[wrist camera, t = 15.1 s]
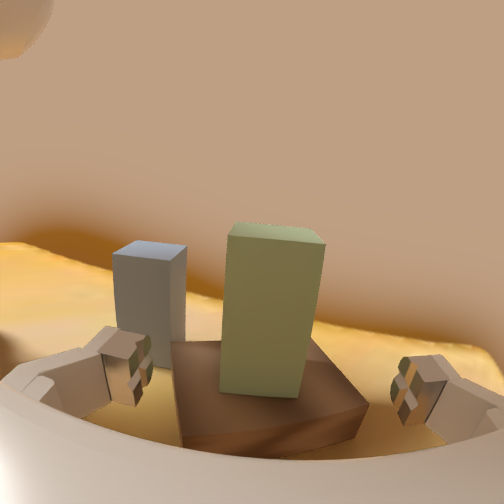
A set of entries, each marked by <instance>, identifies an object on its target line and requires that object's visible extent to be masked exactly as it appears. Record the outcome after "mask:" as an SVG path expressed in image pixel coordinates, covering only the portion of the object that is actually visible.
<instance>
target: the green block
mask: <svg viewBox="0 0 504 504" xmlns="http://www.w3.org/2000/svg"><path fill="white" fill-rule="evenodd" d="M325 246H326V244H325V243H324V242H323V241H322V240H321V239H320V238H319V237H318V236H317V235H316V234H315V233H314V232H313V231H312V230H311V229H307V228H297V227H287V226H277V225H267V224H256V223H245V222H236V223H235V224H234V226H233V227H232V229H231V231H230V232H229V234H228V239H227V254H226V269H225V285H224V302H223V319H222V339H221V360H220V383H219V392H222V393H231V394H241V395H252V396H266V397H284V398H298V395H299V390H300V386H301V381H302V377H303V372H304V367H305V362H306V358H307V353H308V348H309V343H310V337H311V332H312V327H313V321H314V315H315V310H316V304H317V298H318V292H319V286H320V280H321V273H322V267H323V260H324V252H325Z"/></svg>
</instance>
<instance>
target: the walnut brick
mask: <svg viewBox="0 0 504 504" xmlns="http://www.w3.org/2000/svg"><path fill="white" fill-rule="evenodd" d="M170 346H171V368H172V382H173V391H174V399H175V407H176V415H177V422H178V429H179V436H180V443H181V448H186V449H191V450H197V451H203V452H209V453H216V454H223V455H231V456H240V457H250V458H263V459H275V458H280V457H284V456H289V455H294V454H298V453H302V452H306V451H310V450H314V449H318V448H322V447H325V446H329V445H332V444H336V443H339V442H342V441H345V440H349V439H352V438H354V437H355V435H356V433H357V431H358V429H359V427H360V425H361V422H362V420H363V418H364V416H365V413H366V411H367V409H368V406H369V403H368V402H367V401H366V399H365V398H364V397H363V396H362V395H361V394H360V393H359V392H358V390H357V389H356V388H355V387H354V386H353V385H352V384H351V383H350V381H349V380H348V379H347V378H346V377H345V376H344V375H343V374H342V372H341V371H340V370H339V369H338V368H337V367H336V366H335V364H334V363H333V362H332V361H331V360H330V359H329V358H328V357H327V355H326V354H325V353H324V352H323V351H322V350H321V349H320V347H319V346H318V345H317V344H316V343H315V342H314V341H313V339H312V338H311V337H310V343H309V348H308V353H307V358H306V362H305V367H304V372H303V377H302V381H301V386H300V390H299V395H298V398H284V397H266V396H252V395H241V394H231V393H222V392H219V383H220V360H221V341H195V342H170Z"/></svg>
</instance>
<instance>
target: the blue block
mask: <svg viewBox="0 0 504 504" xmlns="http://www.w3.org/2000/svg"><path fill="white" fill-rule="evenodd" d="M112 259H113V282H114V297H115V310H116V320H117V328H120V329H124V330H128V331H133V332H137V333H142V334H147V335H149V336H150V338H151V346H152V347H151V349H150V350H149V352H148V353H149V355H150V356H151V357H152V359H153V366H157V367H162V368H167V369H172V368H171V346H170V342H185V308H186V264H187V246H185V245H176V244H167V243H157V242H147V241H138V240H137V241H135V242H133V243H131V244H130V245H128V246H125V247H124V248H122V249H120V250H118V251H116V252H114V253H113V254H112Z"/></svg>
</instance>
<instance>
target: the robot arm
mask: <svg viewBox="0 0 504 504" xmlns="http://www.w3.org/2000/svg"><path fill="white" fill-rule="evenodd" d="M53 4H54V0H0V61H2V60H7V59H13V58H17V57H19V56H20V55H22V54H23V53H24V52H25V51H27V50H28V49H29V48H30V47H31V46H32V45H33V44H34V43H35V41H36V40H37V39H38V38H39V36H40V35H41V34H42V32H43V31H44V29H45V27H46V25H47V23H48V21H49V19H50V16H51V13H52V9H53ZM151 347H152V346H151V338H150V336H149V335H147V334H142V333H137V332H133V331H128V330H124V329H120V328H115V327H110V326H105V327H104V328H103V329H102V330H101V331H100V332H99V333H98V334H97V335H96V336H95V337H94V338H93V339H92V340H91V341H90V342H89V343H88V344H87V345H86V346H85V347H84V348H83V349H82V348H75V349H72V350H68V351H65V352H61V353H58V354H54V355H51V356H47V357H44V358H40V359H36V360H33V361H29V362H25V363H21V364H19V365H17V366H16V367H15V368H14V369H13V370H12V371H11V372H10V373H8V374H7V375H6V376H5V377H4V378H3V379H2V380H1V381H0V504H504V397H503V396H501V395H499V394H497V393H495V392H493V391H490V390H488V389H486V388H484V387H482V386H480V385H478V384H476V383H474V382H472V381H470V380H468V379H462V378H461V377H460V376H459V374H458V373H457V372H456V371H455V369H454V368H453V367H452V366H451V365H450V363H449V362H448V361H447V360H446V359H445V357H444V356H442V355H440V354H438V355H428V356H413V357H403V358H402V360H401V361H400V363H399V366H398V369H399V372H400V373H399V374H398V375H397V376H396V377H395V378H394V379H393V382H392V385H391V392H390V395H391V400H392V402H393V404H394V405H395V406H397V407H398V408H399V410H398V415H399V417H400V419H401V421H402V424H403V426H408V425H418V424H425V425H426V426H427V427H428V428H429V429H430V430H432V431H433V432H434V433H435V434H437V435H438V436H439V437H440V438H441V439H443V440H444V441H445V442H446V443H448V445H444V446H439V447H434V448H430V449H424V450H419V451H413V452H407V453H401V454H394V455H386V456H377V457H367V458H355V459H337V460H280V459H263V458H250V457H240V456H231V455H223V454H216V453H209V452H203V451H197V450H191V449H186V448H181V447H176V446H171V445H166V444H162V443H158V442H154V441H150V440H146V439H142V438H138V437H134V436H131V435H127V434H124V433H121V432H117V431H114V430H111V429H108V428H105V427H102V426H99V425H96V424H93V423H90V422H87V421H85V420H82V418H84V417H86V416H88V415H89V414H91V413H93V412H95V411H97V410H98V409H100V408H102V407H104V406H105V405H107V404H109V403H111V401H113V402H117V403H121V404H125V405H129V406H133V407H136V406H137V404H138V402H139V400H140V398H141V397H142V395H143V391H142V388H143V387H145V386H147V385H148V384H149V382H150V380H151V376H152V372H153V359H152V357H151V356H150V355H149V353H148V352H149V350H150V349H151Z"/></svg>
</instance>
